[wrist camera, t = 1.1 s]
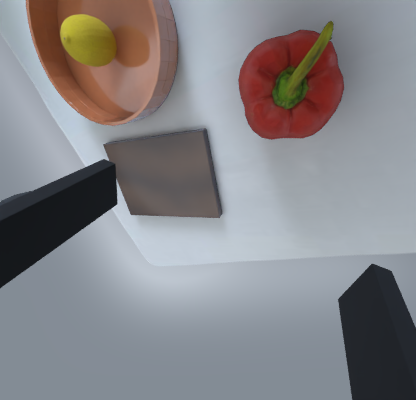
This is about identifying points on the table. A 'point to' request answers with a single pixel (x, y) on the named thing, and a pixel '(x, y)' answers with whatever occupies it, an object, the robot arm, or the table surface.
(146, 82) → the basin
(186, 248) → the table surface
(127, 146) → the board
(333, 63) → the vegetable
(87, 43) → the lemon
